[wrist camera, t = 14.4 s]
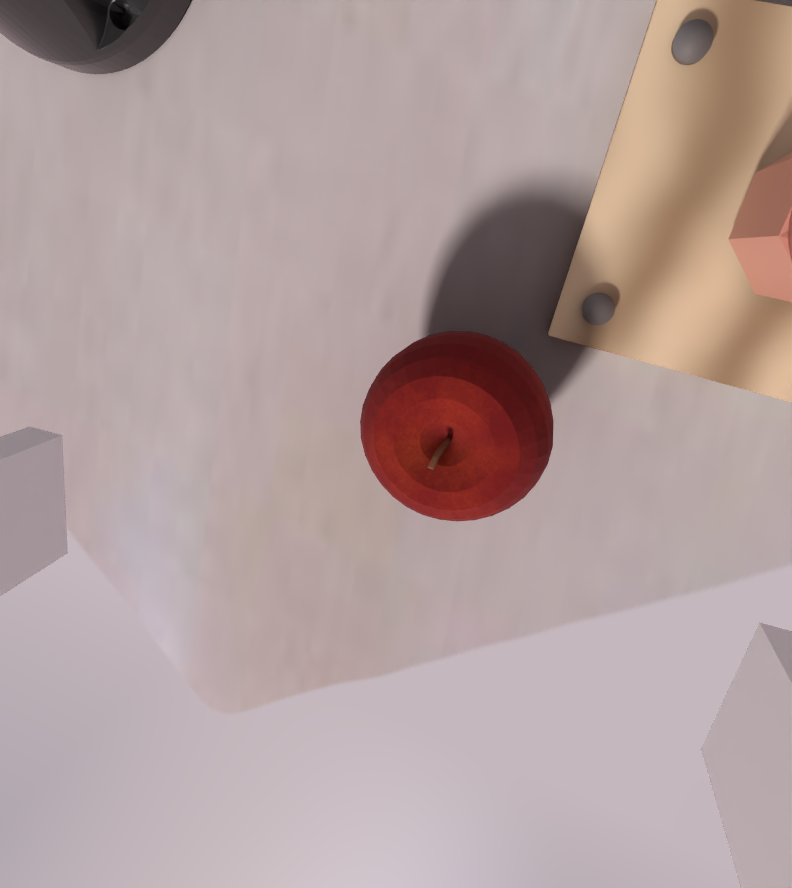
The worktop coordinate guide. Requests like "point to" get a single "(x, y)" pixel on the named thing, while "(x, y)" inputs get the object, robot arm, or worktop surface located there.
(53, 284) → the worktop surface
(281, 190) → the worktop surface
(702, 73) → the stud plate
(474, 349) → the apple
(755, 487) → the worktop surface
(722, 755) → the robot arm
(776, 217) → the cap
